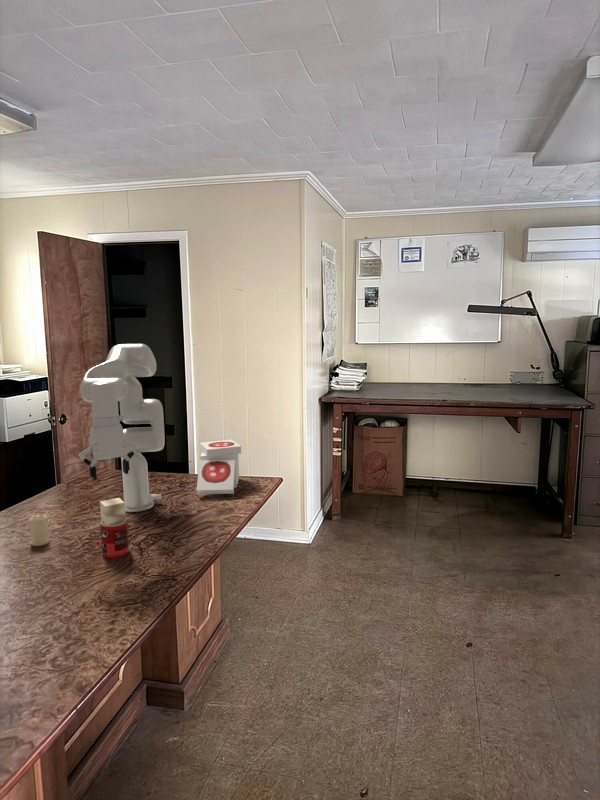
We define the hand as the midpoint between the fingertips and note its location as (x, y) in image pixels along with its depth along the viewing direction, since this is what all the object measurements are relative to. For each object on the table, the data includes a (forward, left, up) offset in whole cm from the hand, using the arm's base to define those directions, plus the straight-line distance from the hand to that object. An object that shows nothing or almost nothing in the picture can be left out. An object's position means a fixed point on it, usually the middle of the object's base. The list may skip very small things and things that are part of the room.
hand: (110, 475), depth 179 cm
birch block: (0, 0, -14) cm, 14 cm away
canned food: (0, 0, -26) cm, 26 cm away
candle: (+18, -24, -26) cm, 39 cm away
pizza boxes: (-57, -43, -26) cm, 76 cm away
